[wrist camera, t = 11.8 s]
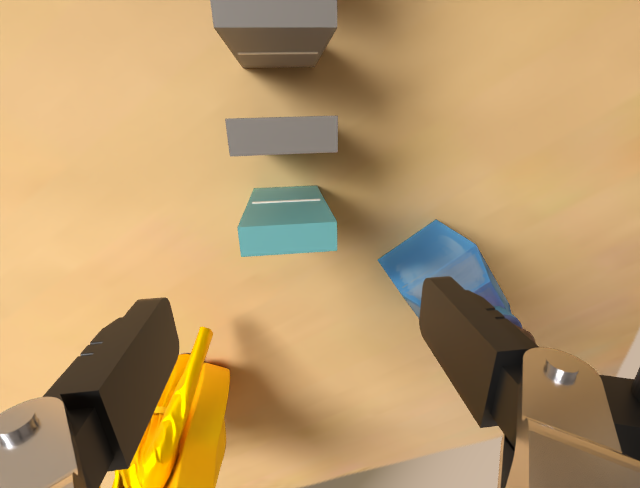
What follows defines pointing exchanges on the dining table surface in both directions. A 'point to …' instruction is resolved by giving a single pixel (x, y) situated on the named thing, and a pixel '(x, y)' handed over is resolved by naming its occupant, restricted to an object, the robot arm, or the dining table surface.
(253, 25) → the tile
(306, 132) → the tile
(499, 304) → the perfume bottle
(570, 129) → the dining table surface
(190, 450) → the figure statuette
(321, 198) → the end tile
